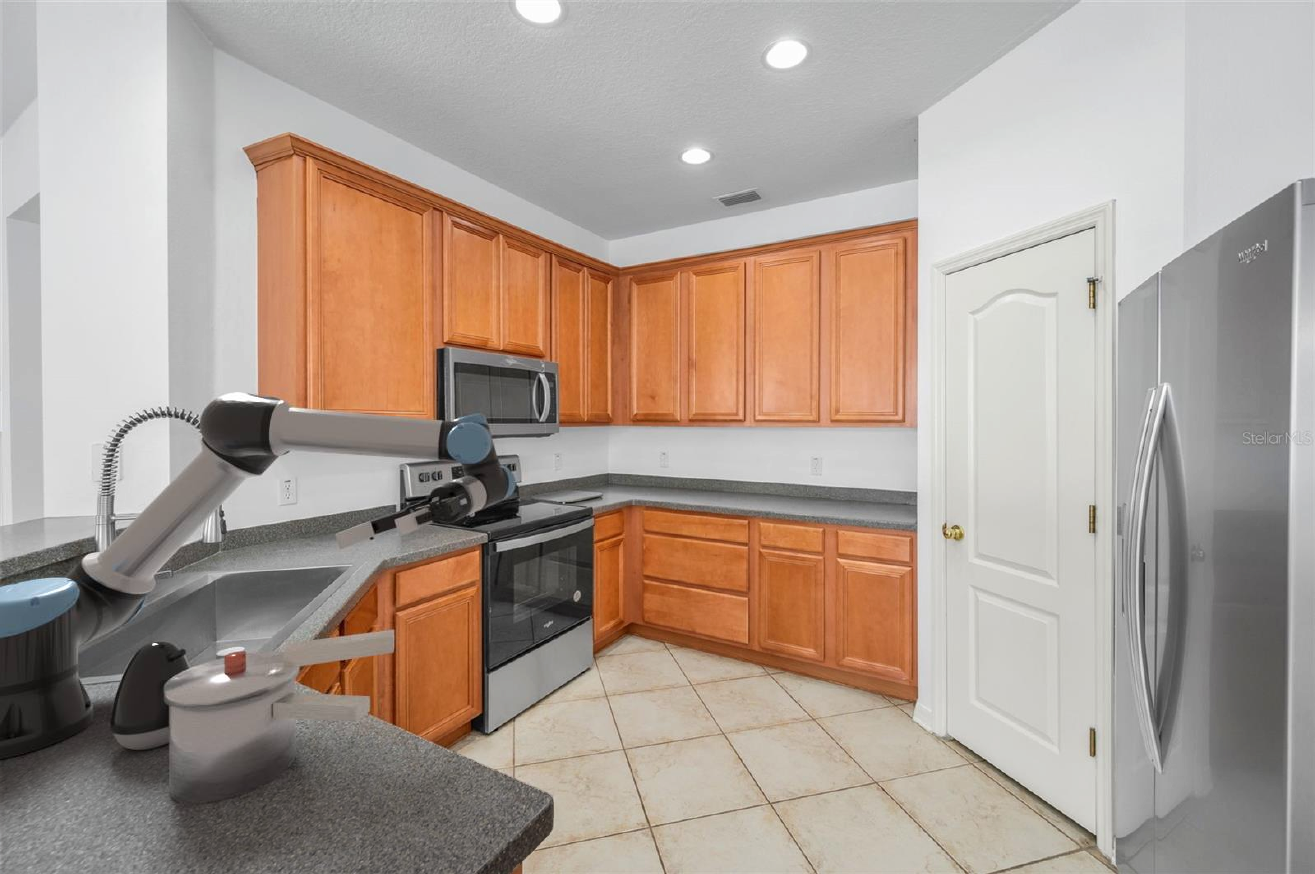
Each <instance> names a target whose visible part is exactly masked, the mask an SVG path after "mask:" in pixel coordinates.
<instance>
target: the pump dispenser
mask: <svg viewBox="0 0 1315 874" xmlns="http://www.w3.org/2000/svg"><path fill="white" fill-rule="evenodd" d="M186 654H187V650H186V648H181V649H180V647H178V646H177V645H176V644H175V643H173V642H171V641H167V640H157V641H152V642H150V643H147V644H144V645H143V646H141V647H140V648H139V649H138V650H137V651H136V652H135V653H134V655H133V656H132V657H131V659H130V660H129V662H128V664H127V665H126V667H125V669H124V671H123V673H122V676H121V679H120V681H119V684H118V687H117V689H116V693H115V695H114V699H113V702H112V703H113V704H112V708H111V713H110V720H109V730H110V732H111V733H112V734H113V736H114V739H115V740H116V742H117V743H118V744H119V746H121V747H124V748H125V749H129V750H134V751H143V750H144V751H145V750H151V749H155V748H158V747H159V748H160V747H162V746H165V745H168V744H169V705H167V704H166V703H165V702H164V685H165V684H166V682H167V681H168V680H170V679H171V678H172V677H174V676H175V675H177V674H179V673H181V672H183V671H185V670H188V669H190V668H191V666H190V663H189V661H188V659H187V657H186Z"/></svg>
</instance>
